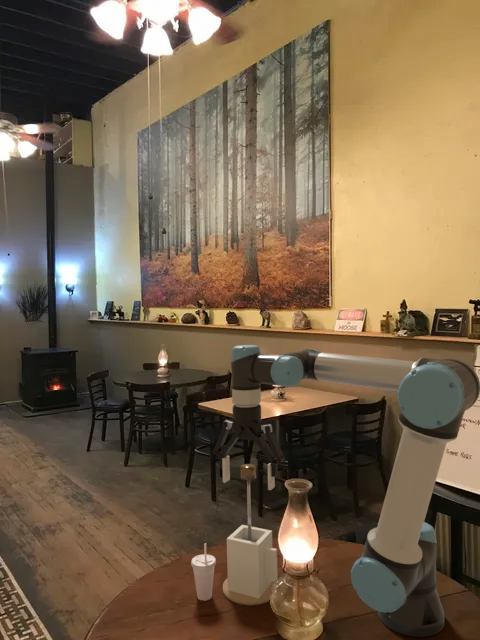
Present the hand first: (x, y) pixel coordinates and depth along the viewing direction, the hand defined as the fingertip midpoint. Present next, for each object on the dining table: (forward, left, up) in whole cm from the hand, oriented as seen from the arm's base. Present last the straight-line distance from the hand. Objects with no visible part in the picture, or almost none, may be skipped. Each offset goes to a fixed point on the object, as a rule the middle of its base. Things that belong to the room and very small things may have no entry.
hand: (248, 484), depth 135 cm
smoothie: (+9, +8, -28) cm, 31 cm away
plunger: (0, 0, -17) cm, 17 cm away
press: (0, 0, -28) cm, 28 cm away
